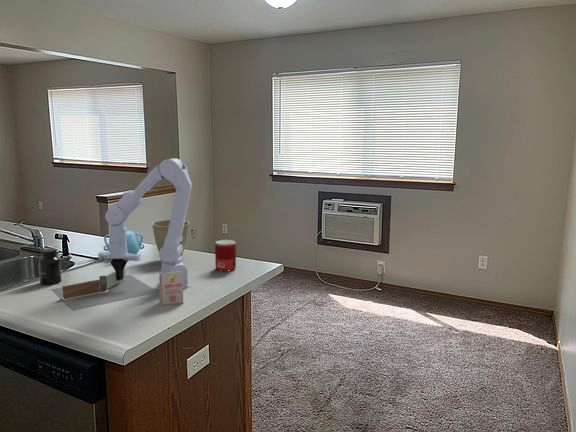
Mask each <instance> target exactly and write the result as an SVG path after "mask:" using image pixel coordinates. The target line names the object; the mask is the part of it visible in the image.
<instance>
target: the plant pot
mask: <svg viewBox="0 0 576 432" xmlns="http://www.w3.org/2000/svg"><path fill="white" fill-rule="evenodd" d="M151 223H152V231H153V235H154V241H155V243H156V247H157V251H158V252H159V251H160V249H161V248H162V247H163V245H164V241H165V239H166V236H167V233H168V228H169V223H170V219H166V220H165V219H164V220H157V221H154V222H151ZM189 228H190V222H189V221H186V220H185V223H184V228H183V233H182V237H183V240H182V244H183V252H182V253H181V254H180V255H181V257H182V256H183V254H184V250H185V248H186V245H187V240H188V235H189V230H190V229H189ZM182 258H183V257H182Z"/></svg>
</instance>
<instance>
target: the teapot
mask: <svg viewBox="0 0 576 432" xmlns="http://www.w3.org/2000/svg"><path fill="white" fill-rule="evenodd" d="M126 234H127V253H132V254H137V255H138V252H140V250H143V249H145V244H144V243H143V240H144V236H143V234H142V233H139V232H134V231H132V230H128V229H127V228H126ZM137 236H140V241H139V239H138V237H137ZM107 237H108V238H109V233H108V234H105V236H104V237H103V240H104V244H105V245H104V246H103V251H105V252H110V248H109V242H108V241H107Z"/></svg>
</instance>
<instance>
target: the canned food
mask: <svg viewBox="0 0 576 432" xmlns="http://www.w3.org/2000/svg"><path fill="white" fill-rule="evenodd" d="M236 243H237V242H236V241H235V240H233V239H220V240H216V241H215V245H214V246H215V247H214V248H215V249H214V253H215V255H214V256H215V262H214V263H215V269H217V270H216V271H218V270H222V271H221V272H225V271H226V272H229V271H228V270H233V269H235V270H236V267H237V261H236V260H237V244H236ZM233 271H234V270H233Z"/></svg>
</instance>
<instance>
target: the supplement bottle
mask: <svg viewBox="0 0 576 432" xmlns="http://www.w3.org/2000/svg"><path fill="white" fill-rule="evenodd" d="M57 251H58V250H57V248H50V247H49V248H44V249H41V250H40V256H41V257H40V258H39V259H38V275H39V279H38V280H39V283H40V285H41V286H54V285H57V284H60V283H61V282H62V267H61V266H62V265H61V264H62V263H61V258H60V257H59V256H58V252H57Z"/></svg>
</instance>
